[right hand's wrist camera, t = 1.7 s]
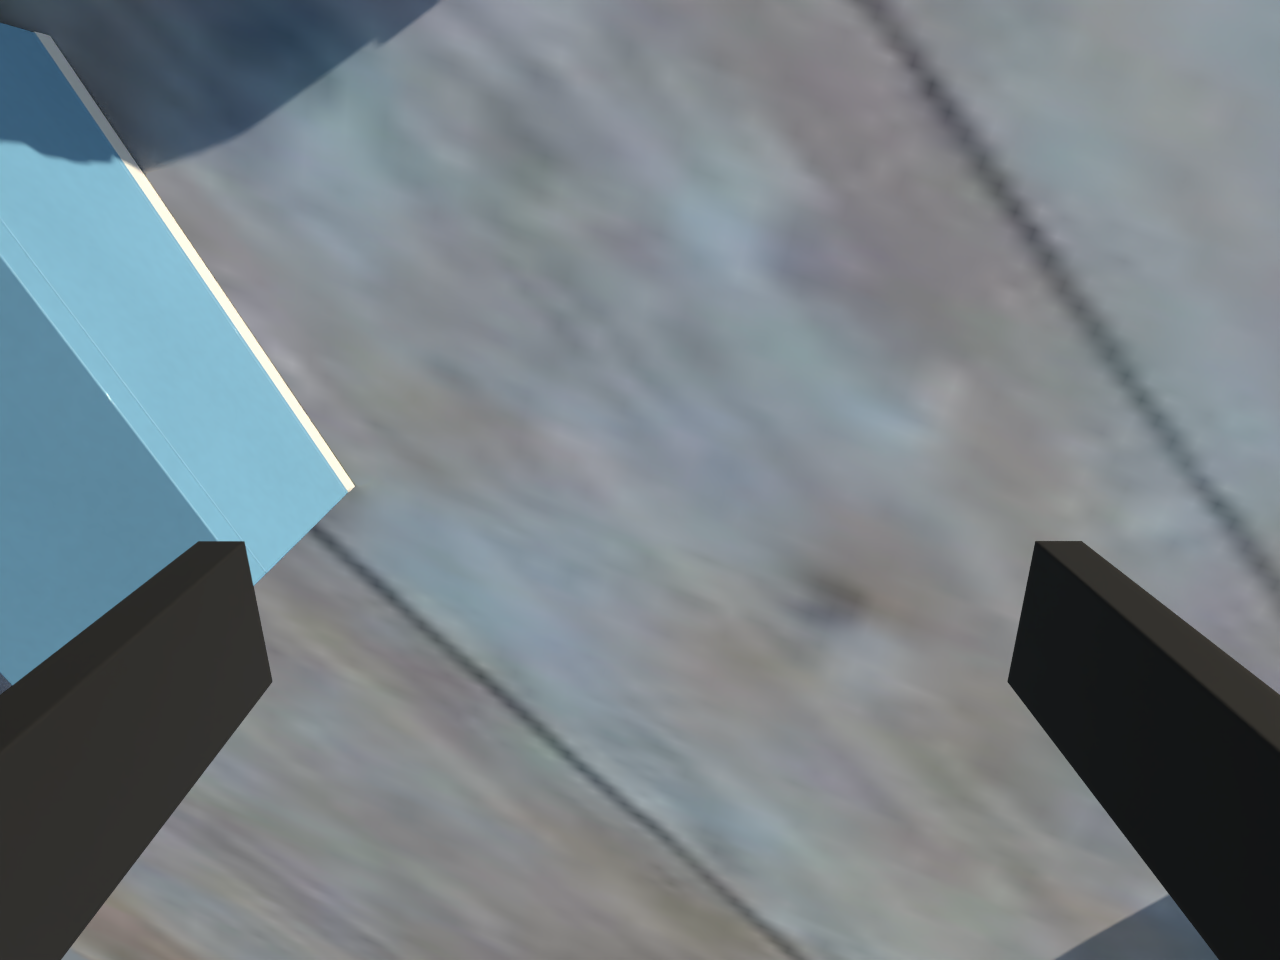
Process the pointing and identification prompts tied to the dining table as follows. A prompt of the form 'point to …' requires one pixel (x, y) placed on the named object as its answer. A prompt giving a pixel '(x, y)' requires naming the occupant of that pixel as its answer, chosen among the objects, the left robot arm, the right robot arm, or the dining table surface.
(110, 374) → the cabinet
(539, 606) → the dining table surface
